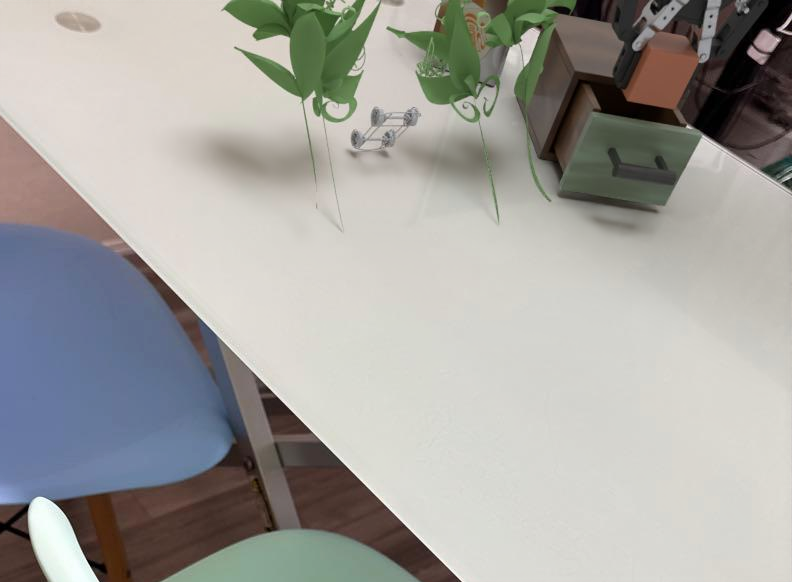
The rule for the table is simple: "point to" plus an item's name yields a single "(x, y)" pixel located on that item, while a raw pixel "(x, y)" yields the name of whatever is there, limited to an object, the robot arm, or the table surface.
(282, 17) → the plant cuttings
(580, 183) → the drawer
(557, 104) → the cabinet
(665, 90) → the block
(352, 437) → the table surface
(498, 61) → the coffee box
